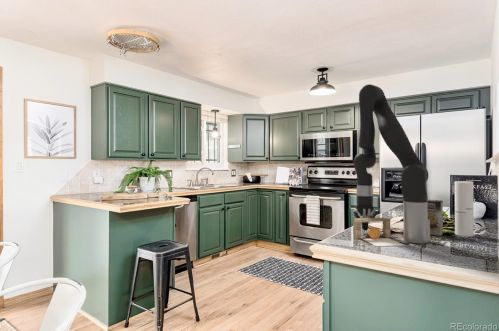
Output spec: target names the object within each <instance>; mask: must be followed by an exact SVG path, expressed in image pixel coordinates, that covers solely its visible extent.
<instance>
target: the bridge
mask: <svg viewBox="0 0 499 331" xmlns="http://www.w3.org/2000/svg"><path fill="white" fill-rule="evenodd" d="M361 222H369V223H370V222H371V223H372V222H373V223H375V222H382V238H383V237H384V238H389V239H391V217H375V218H361V217H360V218H355V217H354V218H353V238H354V239H356V240H359V239H362V226H361Z"/></svg>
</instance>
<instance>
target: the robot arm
mask: <svg viewBox="0 0 499 331" xmlns="http://www.w3.org/2000/svg"><path fill="white" fill-rule="evenodd" d="M358 104H359V136H358V147H359V148H360V149H363V153H358V154H356V155H355V157H354V159H353V167H354V171H355V175H356V206H355V209H354V210H351V214H352V215H353V216H354V218H376V217H377V215H378V214H379V211H378V210H376V209H375V207H374V188H373V184H374V183H373V174H371V173H369V172H368V170H367V169H372V168H373V167H374V166H375V165H376V162H377V156H376V155H377V154H376V148H375V139H376V128H375V122H374V121H375V120H374V115H375V117H376V120H377V125H378V131H379V133H380V136H381V138H382V139H383V141H384V143H385V144H386V146H387V147H388V149H389V150H390V151H391V152H392V153H393V155H394V156H395V157H396V158H397V160H398V161H399V162H400V164H401V167H402V171H401V177H400V178H401V179H400V182H401V196H402V205H403V206H402V207H403V208H402V209H403V214H402V215H403V221H402V222H403V224H402V225H403V240H404V241H405V242H408V243H412V244H427V243H430V242H431V234H430V220H428V213H427V200H428V195H427V191H426V183H427V181H428V179H429V170H428V169H427V167H425V165H424V164H423V162H422V161H421V160H420V158H419V156H417V154H416V152H415V151H414V148H413V146H412V144H411V142H410V141H411V140H409V138H408V135H407V133H406V132H405V130H404V128H403V125H401V123H400V121H399V119H397V116H396V115H395V113H394V112H393V110H392V108H391V107H390V105H389V102H388V100H387V97H386V95H385V92H384V90H383V89H382V88H381V87H379V86H377V85H374V84H372V83H371V84H369V83H368V84H365V85H364V86H362V87H360V90H359V93H358ZM369 223H370V222H361V230H363V231H366V232H367V231H368V230H369Z"/></svg>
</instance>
